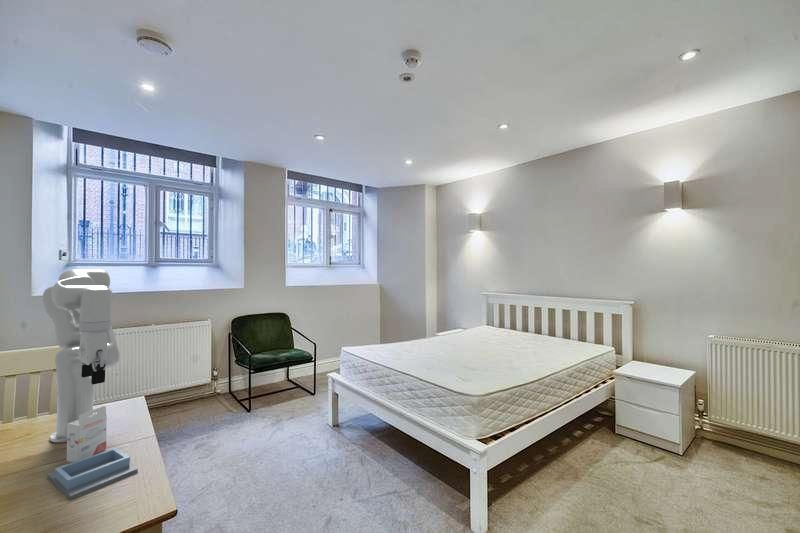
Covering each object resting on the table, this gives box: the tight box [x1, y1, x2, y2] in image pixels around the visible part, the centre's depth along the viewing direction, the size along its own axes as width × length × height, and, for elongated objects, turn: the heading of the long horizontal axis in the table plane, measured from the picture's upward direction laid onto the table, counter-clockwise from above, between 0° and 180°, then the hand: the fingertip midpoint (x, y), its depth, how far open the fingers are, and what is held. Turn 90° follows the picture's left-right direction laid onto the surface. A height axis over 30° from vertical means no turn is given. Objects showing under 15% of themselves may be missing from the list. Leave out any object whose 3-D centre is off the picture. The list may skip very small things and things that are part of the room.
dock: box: [46, 447, 139, 501], centre depth 101 cm, size 18×15×4 cm
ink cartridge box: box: [66, 405, 108, 463], centre depth 111 cm, size 9×5×15 cm, turn 168°
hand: (92, 379), depth 111 cm, fingers open, 9 cm apart
